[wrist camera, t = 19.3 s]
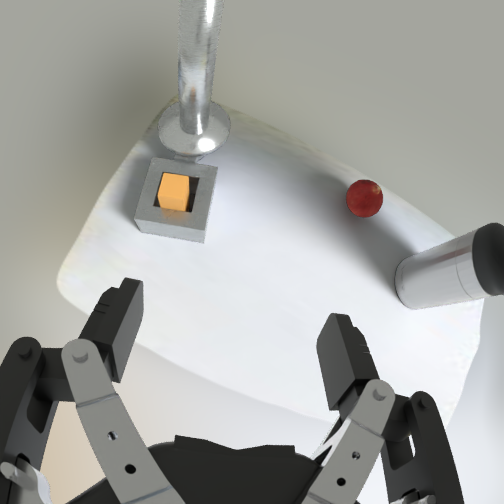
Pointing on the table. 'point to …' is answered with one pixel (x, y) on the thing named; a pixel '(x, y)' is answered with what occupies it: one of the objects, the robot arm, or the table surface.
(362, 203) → the pomegranate
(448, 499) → the robot arm
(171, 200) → the orange block
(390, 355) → the table surface
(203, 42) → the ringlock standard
